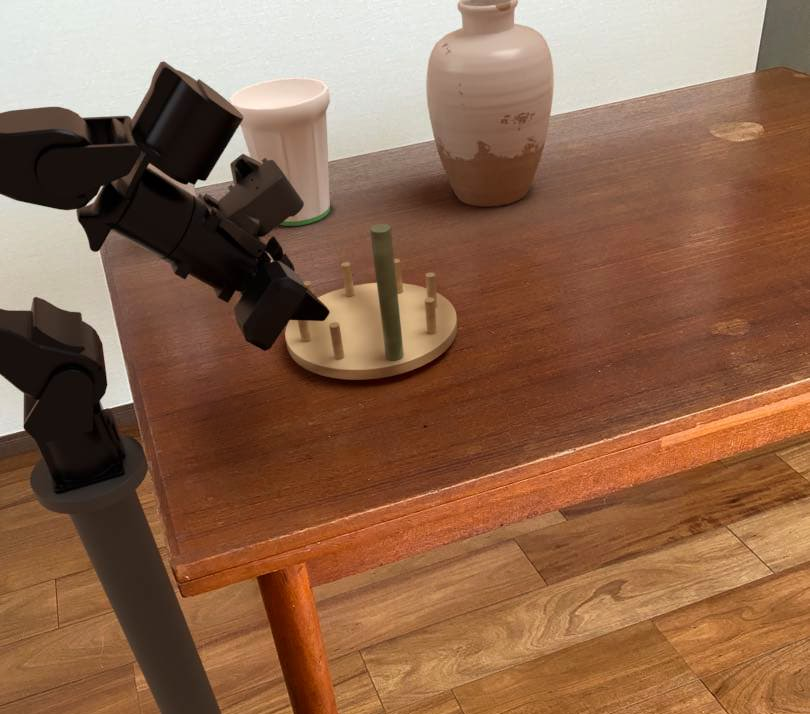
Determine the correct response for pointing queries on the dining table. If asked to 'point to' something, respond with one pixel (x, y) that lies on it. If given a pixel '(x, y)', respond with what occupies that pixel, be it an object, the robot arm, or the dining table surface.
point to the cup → (290, 137)
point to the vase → (490, 103)
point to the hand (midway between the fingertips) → (326, 314)
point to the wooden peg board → (375, 323)
